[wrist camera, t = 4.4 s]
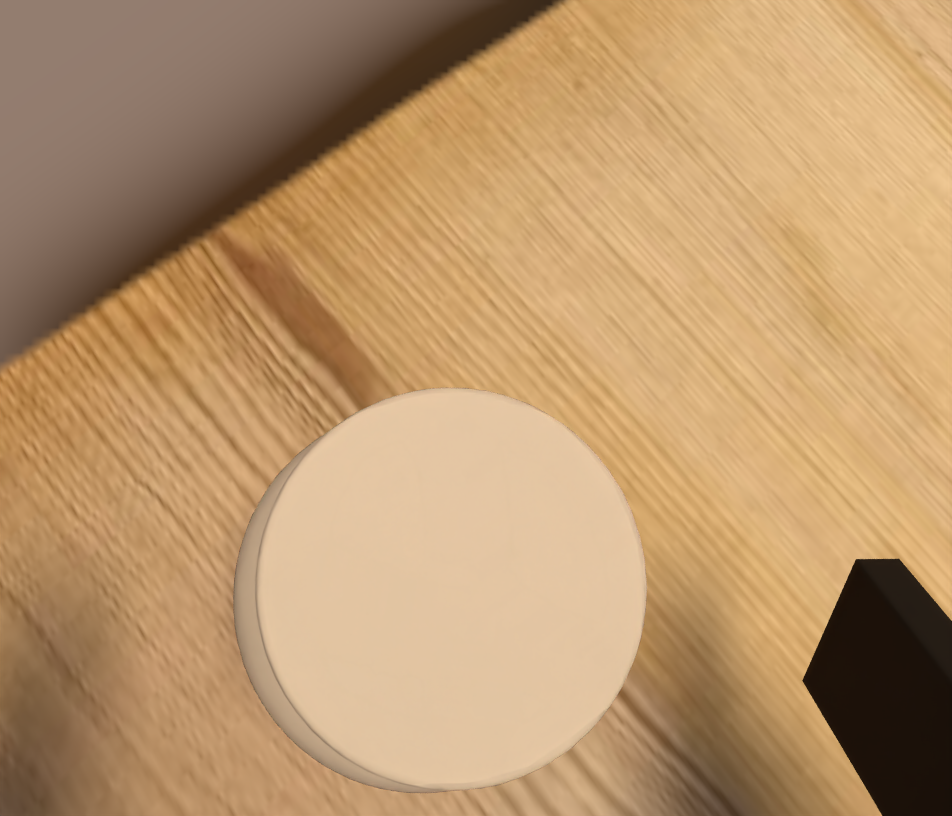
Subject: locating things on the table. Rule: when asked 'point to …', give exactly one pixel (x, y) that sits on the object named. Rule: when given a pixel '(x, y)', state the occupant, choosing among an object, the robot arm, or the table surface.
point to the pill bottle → (440, 592)
